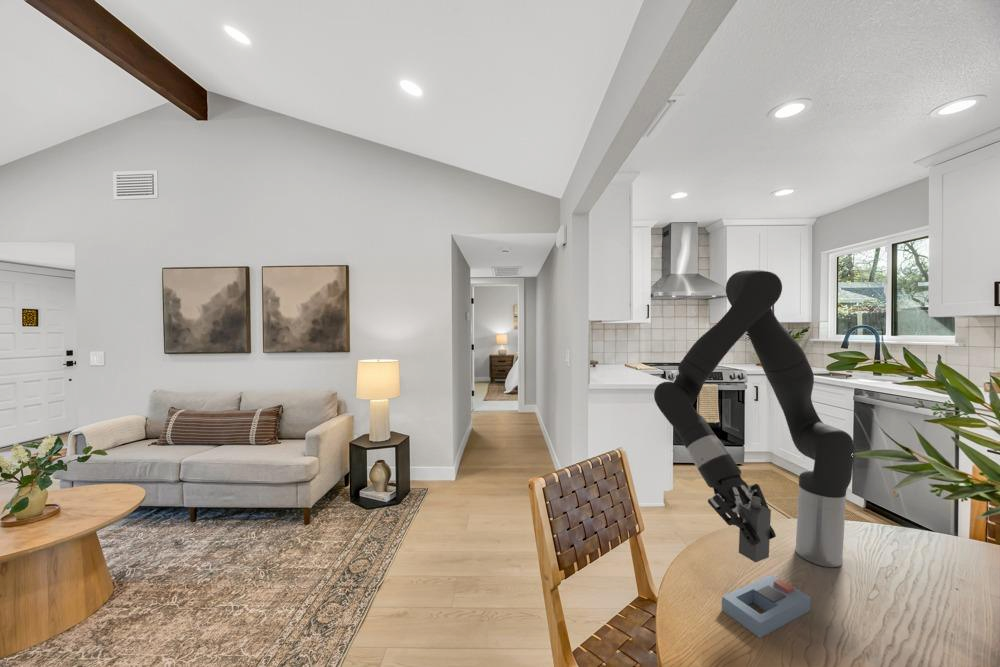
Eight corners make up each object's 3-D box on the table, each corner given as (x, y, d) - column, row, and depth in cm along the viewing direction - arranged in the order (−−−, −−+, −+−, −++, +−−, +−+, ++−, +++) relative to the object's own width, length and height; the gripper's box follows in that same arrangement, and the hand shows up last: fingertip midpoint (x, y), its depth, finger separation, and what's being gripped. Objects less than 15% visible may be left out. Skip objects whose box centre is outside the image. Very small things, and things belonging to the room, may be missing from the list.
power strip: (770, 586, 93) (771, 570, 93) (810, 610, 86) (810, 593, 86) (721, 610, 86) (722, 592, 86) (759, 638, 79) (760, 619, 79)
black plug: (751, 547, 88) (754, 492, 87) (768, 557, 84) (771, 499, 84) (738, 552, 86) (740, 496, 85) (755, 562, 83) (758, 504, 82)
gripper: (700, 458, 88) (754, 544, 78) (746, 447, 93) (801, 526, 83) (679, 473, 93) (727, 556, 83) (723, 462, 99) (773, 538, 89)
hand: (764, 540), depth 83 cm, fingers closed on black plug, 4 cm apart
